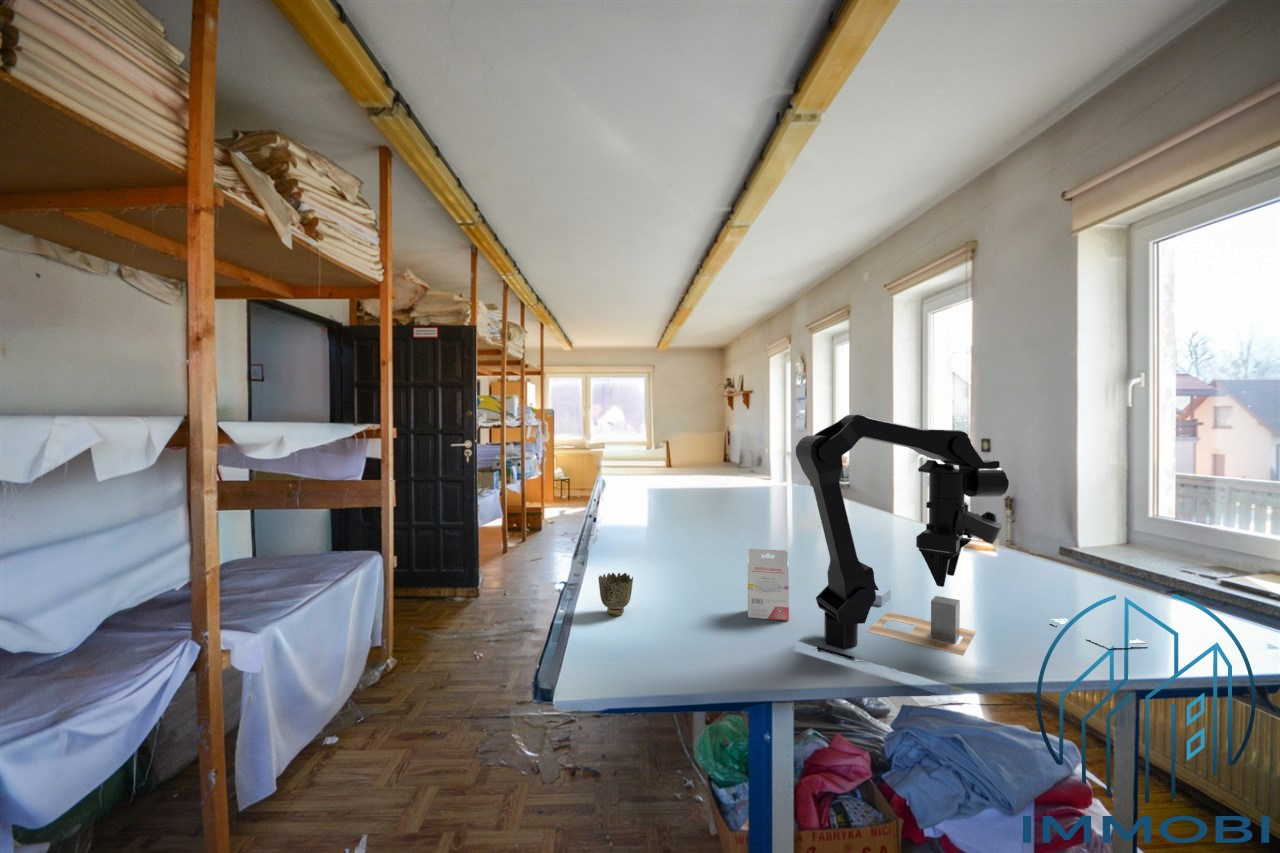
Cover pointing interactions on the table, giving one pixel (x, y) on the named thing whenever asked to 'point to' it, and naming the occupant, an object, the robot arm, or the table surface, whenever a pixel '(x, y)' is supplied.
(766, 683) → the table surface
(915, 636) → the socket board
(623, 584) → the cup
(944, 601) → the grey rectangular block
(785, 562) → the ink cartridge box
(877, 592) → the block
